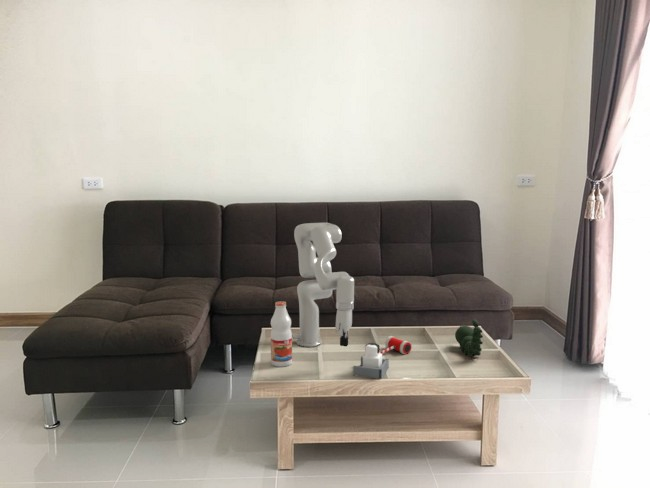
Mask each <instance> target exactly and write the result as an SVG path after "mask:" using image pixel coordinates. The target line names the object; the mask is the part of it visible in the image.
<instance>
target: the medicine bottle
mask: <svg viewBox="0 0 650 488" xmlns="http://www.w3.org/2000/svg"><path fill="white" fill-rule="evenodd" d="M364 348H365V349H364V350H365V354H364V355H363V358H362V366H363V367H372V368H380V367H381V365H382V359H383V354H380V353H379V352H380V351H381V349H380V345H379V343H376V342H375V343H374V342H369V343H367V344H366V345H365V346H364Z"/></svg>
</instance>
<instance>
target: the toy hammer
mask: <svg viewBox="0 0 650 488" xmlns="http://www.w3.org/2000/svg"><path fill="white" fill-rule="evenodd" d="M384 345H385V349H383V350H379V353H380V354H382V355H383V354H385V353H388V352H390V351H392V350H393V349H394V350H393V351H396V352H399V353H400V354H401V355H404V354H405V355H408V354H407V353H409V354H410V353H411V351H412V348H413V347H412V343H411V342H410V341H409V340H401V339H400V338H399V339H398V338H396V336H392V335H389V336H388V337H387V338H386V339H385V341H384Z"/></svg>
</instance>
